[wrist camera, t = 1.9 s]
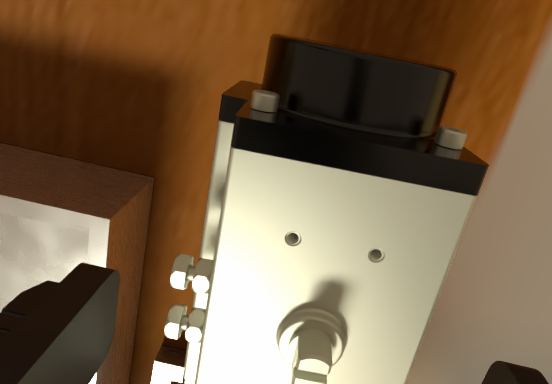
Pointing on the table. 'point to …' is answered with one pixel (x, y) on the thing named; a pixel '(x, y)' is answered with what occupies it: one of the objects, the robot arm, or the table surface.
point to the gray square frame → (168, 366)
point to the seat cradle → (74, 234)
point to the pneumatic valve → (325, 220)
